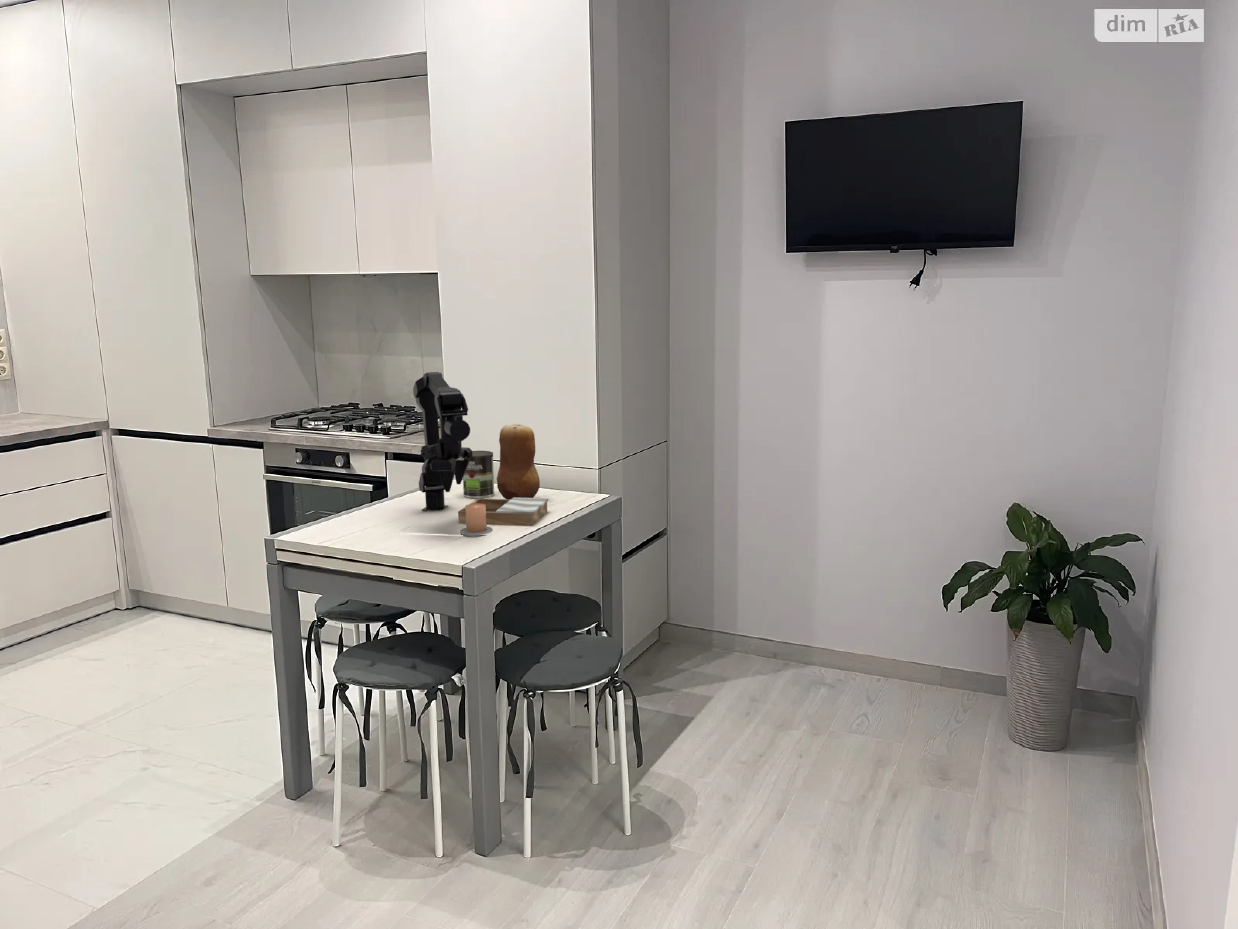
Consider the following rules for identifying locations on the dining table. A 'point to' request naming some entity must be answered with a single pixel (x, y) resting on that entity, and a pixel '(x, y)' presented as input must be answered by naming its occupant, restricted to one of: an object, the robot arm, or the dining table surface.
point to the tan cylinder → (476, 517)
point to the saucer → (476, 534)
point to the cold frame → (510, 511)
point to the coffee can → (479, 475)
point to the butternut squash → (517, 463)
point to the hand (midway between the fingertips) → (453, 487)
